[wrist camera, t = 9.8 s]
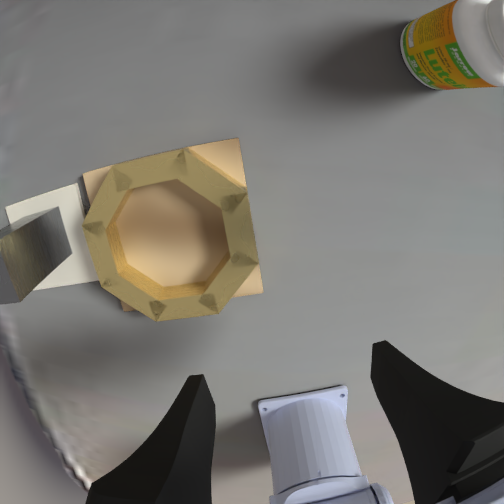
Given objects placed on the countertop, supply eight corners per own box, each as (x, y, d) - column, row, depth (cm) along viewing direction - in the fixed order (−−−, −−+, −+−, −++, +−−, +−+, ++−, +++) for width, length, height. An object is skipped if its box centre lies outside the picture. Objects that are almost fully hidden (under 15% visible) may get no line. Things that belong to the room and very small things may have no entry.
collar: (263, 292, 21) (265, 307, 20) (124, 311, 22) (116, 325, 20) (238, 137, 18) (238, 138, 16) (82, 173, 18) (69, 178, 16)
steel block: (58, 206, 19) (-3, 241, 12) (72, 253, 20) (20, 302, 14) (24, 216, 19) (-37, 252, 12) (38, 260, 20) (-16, 306, 14)
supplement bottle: (388, 63, 17) (484, 34, 8) (408, 6, 15) (495, -39, 6) (448, 104, 18) (551, 109, 9) (465, 48, 16) (560, 33, 7)
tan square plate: (262, 287, 22) (263, 292, 21) (127, 305, 22) (124, 311, 22) (238, 137, 18) (238, 137, 18) (87, 171, 19) (82, 173, 18)
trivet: (104, 277, 21) (102, 279, 21) (35, 288, 21) (33, 290, 21) (77, 182, 19) (74, 183, 18) (8, 205, 19) (5, 207, 19)
